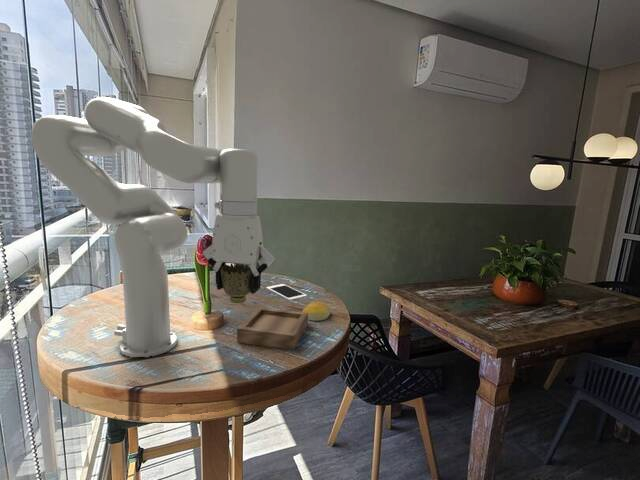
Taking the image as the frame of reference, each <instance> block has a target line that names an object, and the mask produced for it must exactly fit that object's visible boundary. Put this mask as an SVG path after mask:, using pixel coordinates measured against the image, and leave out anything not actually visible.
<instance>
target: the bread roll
mask: <svg viewBox="0 0 640 480" xmlns="http://www.w3.org/2000/svg"><path fill="white" fill-rule="evenodd" d="M301 312H304V313H308V321H314V322H316V321H324V320H326V319H328V318H329V317H330V316H331V309H330V307H329V306H328V305H327V303H324V302H321V301H312V302H310V303H309V304H307V305H306V307H304V308H303V309H302V311H301Z"/></svg>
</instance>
